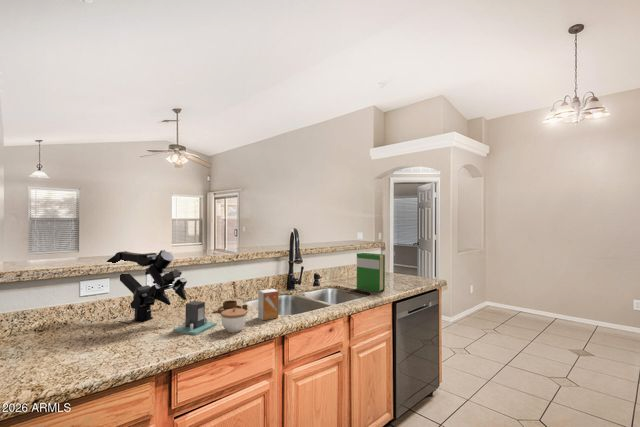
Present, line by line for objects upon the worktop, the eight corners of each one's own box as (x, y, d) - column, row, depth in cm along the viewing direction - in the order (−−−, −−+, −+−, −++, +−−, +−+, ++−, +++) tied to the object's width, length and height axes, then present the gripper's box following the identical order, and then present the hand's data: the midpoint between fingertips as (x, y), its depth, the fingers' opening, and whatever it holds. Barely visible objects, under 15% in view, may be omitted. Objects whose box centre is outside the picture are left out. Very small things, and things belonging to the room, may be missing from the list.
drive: (185, 326, 139) (185, 303, 140) (193, 323, 144) (193, 300, 144) (196, 328, 137) (197, 305, 137) (204, 325, 142) (205, 302, 142)
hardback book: (384, 290, 217) (384, 254, 217) (379, 292, 211) (379, 255, 211) (362, 286, 228) (362, 252, 228) (356, 288, 222) (356, 253, 223)
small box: (263, 320, 152) (263, 292, 152) (257, 317, 157) (258, 290, 157) (278, 317, 156) (278, 290, 156) (273, 314, 161) (273, 288, 162)
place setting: (246, 307, 176) (247, 296, 177) (248, 318, 157) (249, 305, 157) (213, 309, 172) (213, 298, 172) (211, 320, 152) (211, 308, 153)
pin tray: (173, 331, 137) (173, 323, 137) (194, 322, 149) (194, 314, 149) (195, 335, 133) (196, 326, 133) (216, 325, 145) (216, 317, 145)
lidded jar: (251, 329, 140) (251, 307, 140) (229, 336, 132) (230, 313, 132) (237, 324, 147) (237, 303, 147) (216, 330, 139) (216, 308, 139)
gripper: (152, 266, 137) (172, 295, 133) (184, 261, 155) (202, 286, 151) (137, 283, 140) (157, 312, 136) (171, 276, 157) (189, 301, 153)
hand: (177, 301), depth 144 cm, fingers open, 9 cm apart
